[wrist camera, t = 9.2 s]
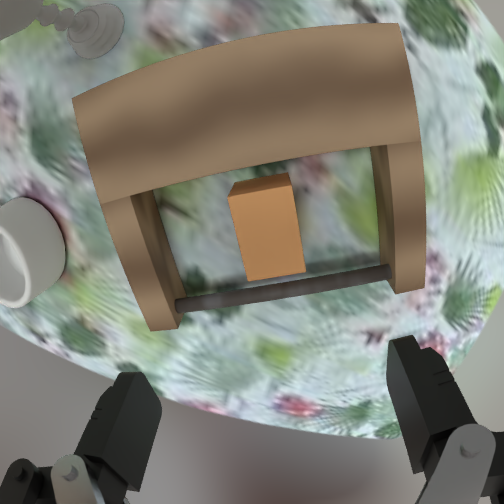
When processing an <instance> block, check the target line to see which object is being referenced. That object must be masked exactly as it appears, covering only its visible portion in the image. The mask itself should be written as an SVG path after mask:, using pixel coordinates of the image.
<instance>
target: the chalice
mask: <svg viewBox="0 0 504 504" xmlns="http://www.w3.org/2000/svg"><path fill="white" fill-rule="evenodd" d="M42 4H43V0H0V40H2V39H4V38H6V37H8V36H10V35H12V34H14V33H16V32H19V31H21V30H23V29H25V28H26V27H28V26H29V25H30V24H31V23H32V22H33V21H34V20H35V19H37V20H38V21H40V24H41V25H42V26H48V25H50V24H53V23H54V24H55V29H56V30H57V31H64V30H65V29H67V28H68V30H67V38H68V41H69V43H70V45H71V46H72V47H73V49H74V50H75V52H76V54H78V55H79V56H81V57H82V58H87V59H93V58H98V57H100V56H102V55H104V54H106V53H107V52H108V51H110V50H111V49H112V48H113V47H114V46H115V44H116V43H117V42H118V40H119V39H120V36H121V34H122V32H123V27H124V18H123V14H122V12H121V11H120V9H119V8H118V7H116V6H114V5H112V4H100V5H95V6H90V7H86V8H84V9H82V10H80V11H79V12H78V13H77V14H76V15H75V16H74V11H73V9H71V8H67V9H64V10H63V11H59V10H58V6H57V5H56V4H51V5H49V6H42Z"/></svg>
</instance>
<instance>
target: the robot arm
mask: <svg viewBox="0 0 504 504" xmlns="http://www.w3.org/2000/svg"><path fill="white" fill-rule="evenodd" d="M386 380H387V386H388V391H389V394H390V397H391V400H392V403H393V406H394V409H395V412H396V416H397V419H398V422H399V425H400V429H401V432H402V435H403V439H404V442H405V445H406V449H407V452H408V456H409V460H410V463H411V467H412V470H413V474H416V473H419V472H423V471H424V474H425V477H426V483H425V485H424V487H423V489H422V491H421V493H420V495H419V497H418V499H417V500H416V502H415V504H478V501H479V498H480V497H486V496H490V499H491V503H492V504H504V432H492V431H490V430H489V429H487V428H486V427H484V426H482V425H479V424H478V423H477V422H476V421H475V419H474V418H473V416H472V413H471V411H470V409H469V407H468V405H467V403H466V402H465V399H464V397H463V395H462V393H461V391H460V389H459V387H458V385H457V383H456V382H455V381H454V377H453V375H452V374H451V372H449V368H448V366H447V364H446V362H445V361H444V359H443V357H442V356H441V355H440V354H439V353H437V352H436V351H435V350H433V349H432V348H431V347H428V348H425V349H420V347H419V345H418V343H417V341H416V339H415V337H414V336H413V335H409V336H405V337H401V338H397V339H393V340H390V341H389V343H388V357H387V370H386ZM161 415H162V407H161V402H160V400H159V398H158V397H157V395H156V393H155V392H154V390H153V388H152V387H151V385H150V383H149V382H148V380H147V378H146V377H145V375H144V374H143V373H142V372H121V373H119V375H118V376H117V378H116V380H115V382H114V385H113V386H110V387H109V388H108V389H107V390H106V391H105V392H104V393H103V394H102V396H101V397H100V399H99V401H98V403H97V405H96V407H95V411H93V413H92V415H91V420H89V422H88V424H87V426H86V428H85V430H84V432H83V435H82V437H81V439H80V442H79V444H78V446H77V448H76V450H75V452H74V454H70V455H65V456H63V457H61V458H60V459H58V460H57V461H56V463H55V464H54V466H51V467H38V468H37V467H36V466H35V465H34V464H32V463H31V462H30V461H29V460H27V459H24V458H23V459H18V460H16V461H15V462H13V463H12V464H11V465H10V467H9V468H8V470H7V473H6V475H5V477H4V480H3V482H2V485H1V487H0V504H130V503H129V501H128V499H127V498H126V497H125V495H126V491H127V490H130V491H137V492H139V491H140V488H141V484H142V480H143V477H144V473H145V470H146V466H147V463H148V459H149V456H150V452H151V449H152V446H153V442H154V439H155V435H156V432H157V429H158V425H159V422H160V419H161Z"/></svg>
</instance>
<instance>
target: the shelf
mask: <svg viewBox="0 0 504 504" xmlns="http://www.w3.org/2000/svg"><path fill="white" fill-rule="evenodd" d="M72 102H73V107H74V111H75V116H76V120H77V124H78V128H79V132H80V136H81V140H82V144H83V148H84V152H85V155H86V159H87V163H88V166H89V170H90V173H91V176H92V180H93V183H94V186H95V189H96V193H97V196H98V199H99V202H100V205H101V208H102V211H103V214H104V217H105V220H106V223H107V226H108V229H109V231H110V234H111V237H112V240H113V243H114V245H115V248H116V251H117V253H118V256H119V258H120V261H121V264H122V266H123V269H124V271H125V274H126V276H127V279H128V281H129V284H130V286H131V288H132V291H133V293H134V296H135V298H136V300H137V303H138V305H139V307H140V309H141V312H142V314H143V316H144V318H145V321H146V323H147V325H148V327H149V329H150V331H161V330H171V329H178V327H179V325H180V322H181V320H182V317H183V315H184V313H186V312H193V311H201V310H209V309H216V308H223V307H230V306H237V305H244V304H251V303H257V302H264V301H270V300H277V299H283V298H289V297H295V296H301V295H307V294H313V293H319V292H324V291H330V290H335V289H341V288H346V287H352V286H357V285H362V284H367V283H372V282H377V281H382V280H387V281H388V283H389V284H390V286H391V288H392V289H393V291H394V293H395V294H399V293H404V292H408V291H413V290H417V289H422V288H424V287H425V267H426V201H425V182H424V167H423V156H422V146H421V137H420V129H419V121H418V114H417V108H416V101H415V95H414V90H413V84H412V79H411V74H410V69H409V64H408V60H407V55H406V51H405V47H404V43H403V39H402V35H401V31H400V27H399V24H398V23H365V24H344V25H331V26H320V27H311V28H302V29H295V30H288V31H281V32H275V33H269V34H264V35H258V36H253V37H248V38H243V39H239V40H234V41H230V42H226V43H222V44H218V45H214V46H210V47H206V48H202V49H199V50H195V51H192V52H188V53H185V54H182V55H178V56H175V57H172V58H169V59H166V60H163V61H160V62H157V63H154V64H152V65H149V66H146V67H143V68H141V69H138V70H135V71H133V72H130V73H128V74H125V75H123V76H120V77H118V78H115V79H113V80H111V81H108V82H106V83H104V84H101V85H99V86H97V87H95V88H93V89H90V90H88V91H86V92H84V93H82V94H80V95H78V96H76V97H74V98H72ZM364 147H370V151H371V158H372V166H373V174H374V183H375V192H376V203H377V214H378V227H379V243H380V265H378V266H373V267H367V268H362V269H357V270H351V271H346V272H340V273H335V274H329V275H324V276H318V277H312V278H307V279H301V280H295V281H289V282H283V283H277V284H271V285H265V286H258V287H252V288H246V289H239V290H233V291H226V292H220V293H213V294H206V295H200V296H193V297H187V296H186V293H185V290H184V287H183V285H182V282H181V279H180V276H179V273H178V270H177V267H176V264H175V261H174V258H173V255H172V252H171V249H170V246H169V243H168V240H167V237H166V234H165V231H164V228H163V225H162V221H161V218H160V215H159V212H158V209H157V205H156V202H155V199H154V195H153V192H152V189H156V188H160V187H164V186H168V185H172V184H176V183H180V182H184V181H188V180H192V179H196V178H200V177H205V176H209V175H213V174H218V173H222V172H227V171H231V170H236V169H241V168H246V167H250V166H255V165H260V164H266V163H271V162H276V161H281V160H287V159H292V158H298V157H304V156H310V155H316V154H322V153H329V152H335V151H342V150H349V149H356V148H364Z"/></svg>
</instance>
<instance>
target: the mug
mask: <svg viewBox="0 0 504 504" xmlns="http://www.w3.org/2000/svg"><path fill="white" fill-rule="evenodd" d="M64 265H65V244H64V241H63V237H62V233H61V231H60V229H59V227H58V225H57V222H56V221H55V219H54V218H53V217H52V215H51V214H50V212H49V211H47V210H46V209H45V208H44V207H43V206H42V205H41V204H39V203H37V202H36V201H34V200H32V199H29V198H24V197H21V198H16V199H12V200H10V201H8V202H7V203H5V204H4V205H3V206H1V207H0V303H1V304H3V305H5V306H7V307H10V308H18V307H21V306H24V305H26V304H27V303H28V302H30V301H31V300H32V299H34V298H35V297H37V296H38V295H39V294H41V293H42V292H44V291H45V290H47V289H48V288H49V287H51V286H52V285H53V284H54V283H55V282H56V281H57V280H58V279H59V278H60V276H61V274H62V272H63V270H64Z"/></svg>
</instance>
